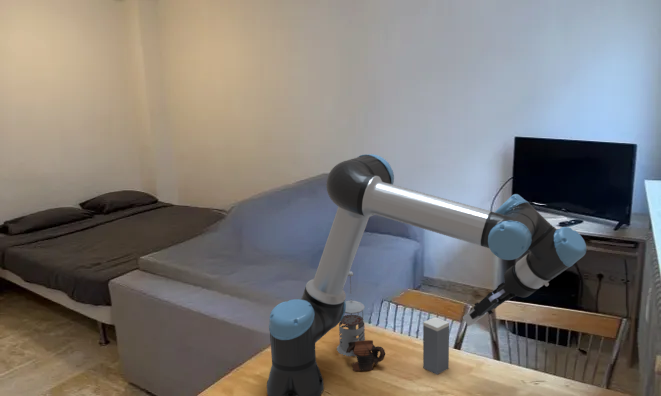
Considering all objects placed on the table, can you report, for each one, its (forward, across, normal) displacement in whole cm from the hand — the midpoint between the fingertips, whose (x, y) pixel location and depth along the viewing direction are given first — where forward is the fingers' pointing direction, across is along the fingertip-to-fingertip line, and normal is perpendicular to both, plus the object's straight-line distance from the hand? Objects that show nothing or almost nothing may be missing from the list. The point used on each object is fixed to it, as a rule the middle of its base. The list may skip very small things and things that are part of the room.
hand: (467, 320), depth 140 cm
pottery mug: (+31, -13, +5) cm, 34 cm away
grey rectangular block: (+20, 0, -5) cm, 21 cm away
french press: (+38, -9, +12) cm, 41 cm away
